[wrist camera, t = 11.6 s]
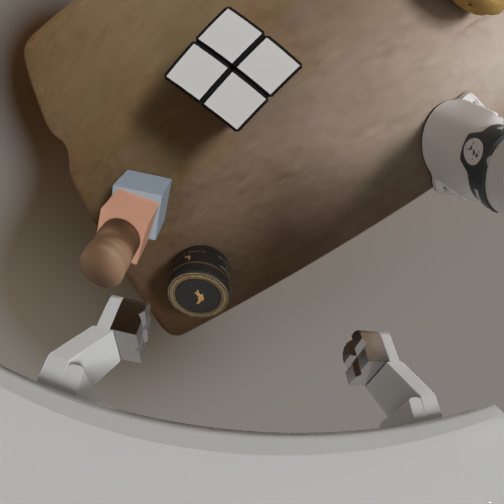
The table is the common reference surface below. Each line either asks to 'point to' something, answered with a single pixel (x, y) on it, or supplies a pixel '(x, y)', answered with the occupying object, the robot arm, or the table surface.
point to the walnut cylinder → (110, 252)
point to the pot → (481, 6)
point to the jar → (200, 282)
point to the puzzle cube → (221, 68)
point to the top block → (131, 214)
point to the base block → (147, 193)
